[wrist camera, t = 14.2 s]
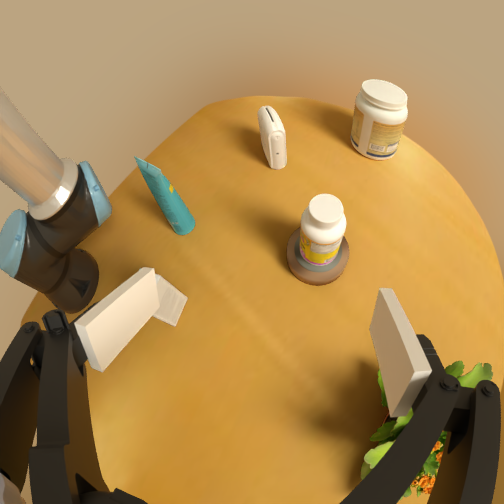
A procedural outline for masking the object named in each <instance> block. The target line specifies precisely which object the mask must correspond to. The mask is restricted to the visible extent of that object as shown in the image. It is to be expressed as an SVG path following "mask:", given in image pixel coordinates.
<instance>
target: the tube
mask: <svg viewBox="0 0 504 504" xmlns="http://www.w3.org/2000/svg"><path fill="white" fill-rule="evenodd" d="M134 157H135V156H134ZM135 159H136V162H137V164H138V166H139V169H140V171H141V173H142V175H143V177H144V179H145V181H146V183H147V185H148V187H149V189H150V190H151V192H152V194H153V196H154V198H155V199H156V201H157V203H158V205H159V206H160V208H161V210H162V212H163V213H164V215H165V217H166V218H167V220H168V222H169V223H170V225H171V227H172V228H173V230H174V231H175V232H176V233H177V234H179V235H185V234H188V233H190V232H191V231H192V230H193V228H194V226H195V220H194V218H193V216H192V215H191V213H190V211H189V210H188V208H187V207H186V205H185V204H184V202H183V201H182V199H181V198H180V196H179V195H178V193H177V192H176V190H175V189H174V187H173V186H172V185H171V183H170V182H169V181H168V180H167V178H166V177H165V176H164V175H163V174H162V173H161V170H160V169H159V168H157V167H155V166H153V165H152V164H150V163H148V162H146V161H144V160H142V159H139V158H137V157H135Z"/></svg>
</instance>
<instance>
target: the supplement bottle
mask: <svg viewBox="0 0 504 504" xmlns="http://www.w3.org/2000/svg"><path fill="white" fill-rule="evenodd" d="M345 229H346V218H345V215H344V213H343V205H342V203H341V202H340V200H339V199H338V198H336V197H335V196H333V195H330V194H319V195H317V196H315V197H314V198H312V200H311V201H310V203H309V206H308V207H307V208H306V209H305V210H304V212H303V214H302V217H301V230H300V252H301V255H302V257H303V258H304V259H305V260H306V261H307V262H308V263H310V264H312V265H316V266H323V265H327V264H329V263H330V262H332V261H333V260H334V259H335V257H336V255H337V253H338V250H339V247H340V244H341V241H342V238H343V235H344V232H345Z"/></svg>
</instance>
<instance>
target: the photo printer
mask: <svg viewBox="0 0 504 504" xmlns="http://www.w3.org/2000/svg"><path fill="white" fill-rule="evenodd" d="M258 121H259V127H260V134H261V142H262V146H263V150H264V152H265V155H266V158H267V160H268V163H269V165H270V167H271V168H273V169H282V168H284V167H285V166H286V164H287V157H286V137H285V130H284V127H283V124H282V122H281V120H280V118H279V116H278V114H277V112H276V111H275V110H274V109H273V108H272V107H270V106H265V107H263V106H262V107H261V108H260V109H259V111H258Z"/></svg>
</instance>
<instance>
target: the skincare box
mask: <svg viewBox="0 0 504 504" xmlns="http://www.w3.org/2000/svg"><path fill="white" fill-rule="evenodd" d="M141 269H142V268H140V269H139V270H141ZM155 279H156V285H157V292H158V298H159V304H160V308H159V309H158V310H157V311H156V312H155V313H154V314H153V315H152V316H153V317H155V318H157V319H159V320H162V321H164V322H166V323H168V324H170V325H172V326H176V324H177V322H178V319H179V317H180V315H181V313H182V310H183V308H184V306H185V303H186V301H187V299H188V298H187V297H186V296H185V295H184V294H182V293H181V292H180V291H179V290H177V289H176V288H175V287H174V286H173V285H171V284H170V283H169V282H168V281H166V280H165V279H164V278H163V277H162V276H161V275H158V274H155Z"/></svg>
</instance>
